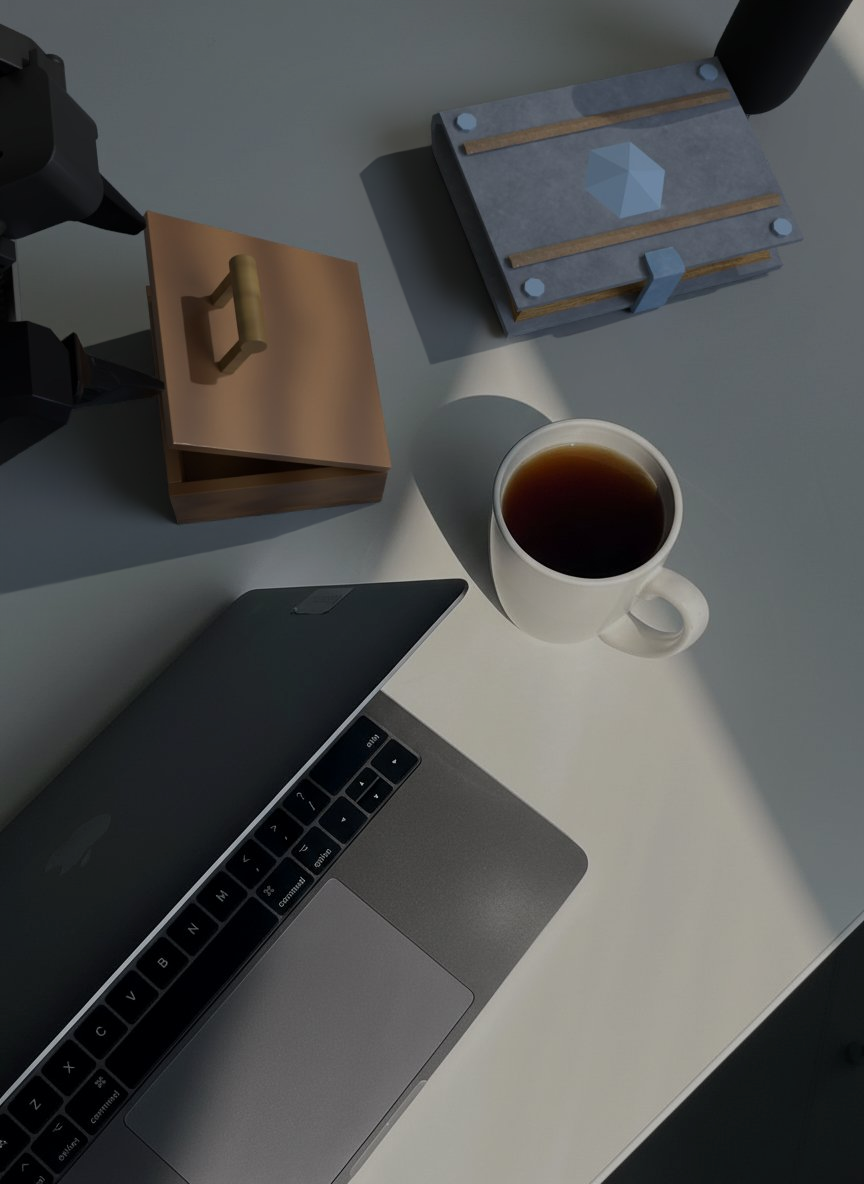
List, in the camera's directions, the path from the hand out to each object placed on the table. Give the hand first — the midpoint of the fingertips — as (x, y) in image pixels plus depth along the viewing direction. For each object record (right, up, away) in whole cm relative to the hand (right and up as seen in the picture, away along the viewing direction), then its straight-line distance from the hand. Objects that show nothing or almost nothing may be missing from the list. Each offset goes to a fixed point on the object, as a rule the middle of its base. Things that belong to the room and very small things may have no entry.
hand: (150, 307), depth 52 cm
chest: (+4, -3, +14) cm, 15 cm away
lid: (+5, -1, +6) cm, 8 cm away
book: (+26, +13, +21) cm, 36 cm away
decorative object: (+37, +23, +26) cm, 51 cm away
